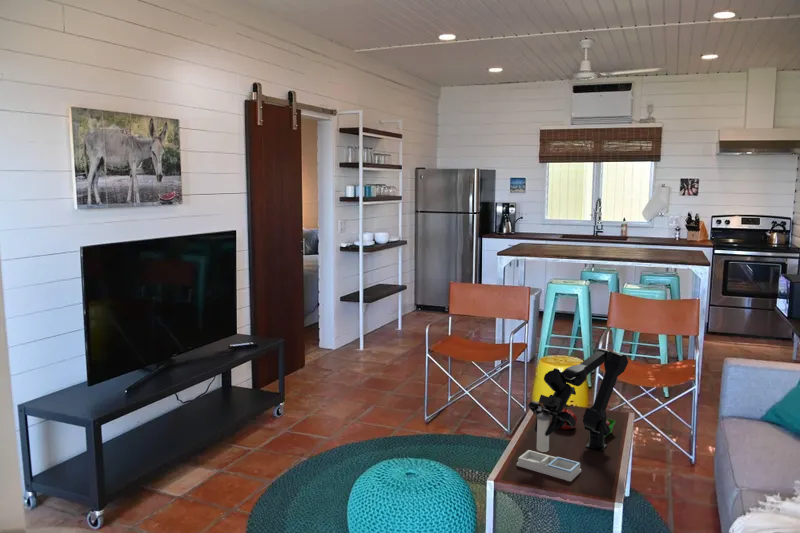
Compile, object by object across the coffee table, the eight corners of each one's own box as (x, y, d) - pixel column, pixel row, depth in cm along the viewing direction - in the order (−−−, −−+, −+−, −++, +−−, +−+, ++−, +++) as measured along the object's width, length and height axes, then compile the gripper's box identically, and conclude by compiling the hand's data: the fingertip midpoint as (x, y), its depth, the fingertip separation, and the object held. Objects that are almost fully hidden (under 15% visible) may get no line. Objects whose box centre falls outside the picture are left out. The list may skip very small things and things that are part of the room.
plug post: (539, 445, 238) (540, 412, 237) (551, 448, 235) (552, 415, 234) (533, 449, 235) (534, 416, 233) (545, 453, 232) (546, 419, 230)
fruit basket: (604, 440, 260) (606, 414, 258) (584, 435, 266) (585, 409, 264) (615, 432, 268) (616, 406, 267) (595, 427, 274) (596, 402, 273)
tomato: (560, 433, 268) (560, 412, 267) (549, 424, 278) (549, 403, 276) (581, 430, 270) (582, 409, 269) (570, 421, 280) (570, 401, 279)
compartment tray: (528, 456, 244) (528, 448, 244) (581, 471, 232) (581, 462, 231) (516, 465, 237) (517, 456, 236) (570, 481, 224) (571, 472, 224)
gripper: (531, 380, 242) (511, 415, 236) (572, 393, 227) (552, 430, 222) (544, 395, 247) (524, 429, 242) (584, 409, 233) (565, 445, 228)
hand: (540, 433), depth 233 cm, fingers closed on plug post, 4 cm apart
